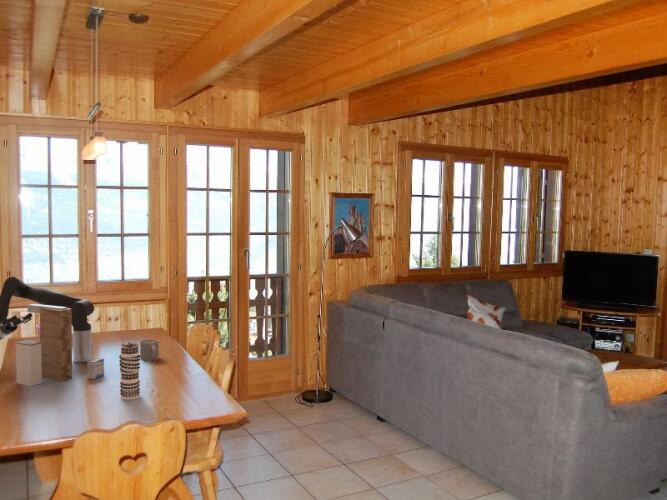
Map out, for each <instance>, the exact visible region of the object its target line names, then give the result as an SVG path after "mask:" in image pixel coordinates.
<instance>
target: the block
mask: <svg viewBox="0 0 667 500" xmlns="http://www.w3.org/2000/svg"><path fill="white" fill-rule="evenodd" d="M15 358H16V360H15V361H16V362H15V365H16V369H15V370H16V384H18V385H19V384H20V385H23V386H27V387H33V386H37V385H40V384H42V383H43V380H42V379H43V378H42V361H41V342H40V341H36V340H31V339H24V340H19V341H15Z"/></svg>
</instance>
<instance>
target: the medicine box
mask: <svg viewBox="0 0 667 500" xmlns="http://www.w3.org/2000/svg"><path fill="white" fill-rule="evenodd" d="M86 363H87V365H86V367H87V369H86V371H87V372H86V373H87V379H88V380H89V379H90V380H96V379H99V378H101V377H103V376H104V375H105V359H104V358H103V357H102V358H101V357H96V358H93V359H92V360H91V361H88V362H86Z"/></svg>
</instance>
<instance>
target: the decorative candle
mask: <svg viewBox="0 0 667 500" xmlns="http://www.w3.org/2000/svg"><path fill="white" fill-rule="evenodd" d="M119 346H120V354H119V355H118V358H119V366H120V367H119V370H120V371H119V373H120V376H121V377H120V382H119V384H120V385H119V387H120V390H119V391H120V393H119V394H120V396H119V397H120V399H121V400H135V399H138V398H139V397H140V393H141V391H140V390H141V388H140V383H141V381H140V374H139V372H140V368H141V366H140V365H141V363H140V361H141V360H140V344H138V343H137V342H136V341H134V340H133V341H131V340H130V341H124V342H123V343H122V344H121V345H119Z"/></svg>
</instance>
